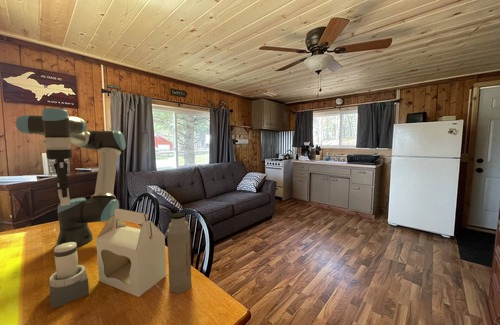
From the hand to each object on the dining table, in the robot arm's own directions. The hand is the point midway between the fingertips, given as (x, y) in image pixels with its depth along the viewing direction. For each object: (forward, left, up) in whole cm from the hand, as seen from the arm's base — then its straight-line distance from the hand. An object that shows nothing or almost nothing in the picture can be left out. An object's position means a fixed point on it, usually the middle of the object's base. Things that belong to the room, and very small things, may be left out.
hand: (64, 201), depth 87 cm
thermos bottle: (+40, +30, -31) cm, 58 cm away
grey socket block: (+17, -1, -30) cm, 35 cm away
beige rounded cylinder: (+17, -1, -24) cm, 29 cm away
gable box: (+23, +18, -31) cm, 42 cm away
